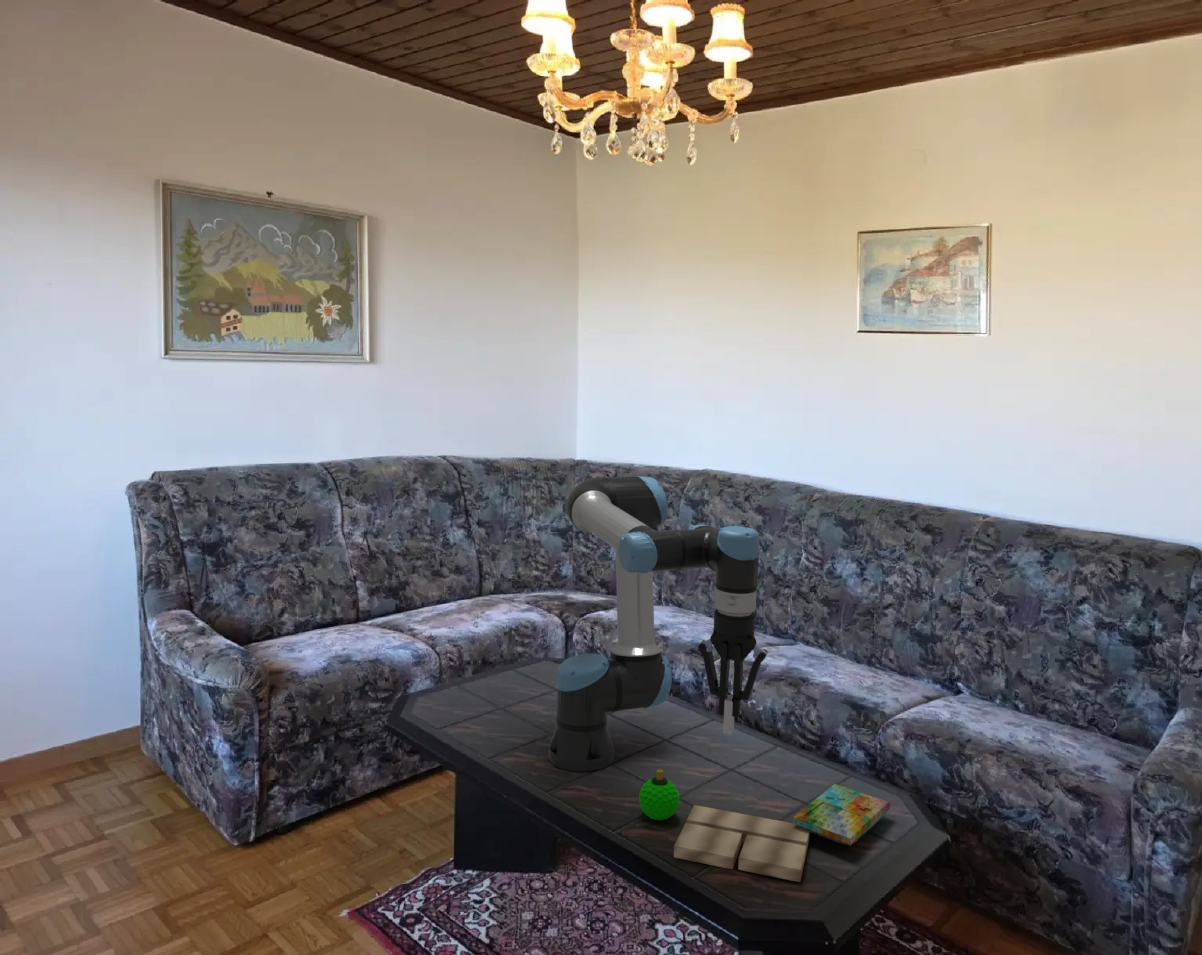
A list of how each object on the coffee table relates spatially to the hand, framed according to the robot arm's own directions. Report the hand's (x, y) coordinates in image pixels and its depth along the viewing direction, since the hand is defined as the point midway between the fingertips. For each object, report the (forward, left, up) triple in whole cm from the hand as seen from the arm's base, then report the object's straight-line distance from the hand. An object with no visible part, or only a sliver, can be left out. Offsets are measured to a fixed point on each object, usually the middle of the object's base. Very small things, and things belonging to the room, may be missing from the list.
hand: (728, 730), depth 167 cm
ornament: (-14, +4, -22) cm, 27 cm away
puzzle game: (+21, +13, -22) cm, 33 cm away
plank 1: (-2, -5, -22) cm, 23 cm away
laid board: (+4, +4, -22) cm, 23 cm away
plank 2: (+10, -5, -22) cm, 25 cm away
